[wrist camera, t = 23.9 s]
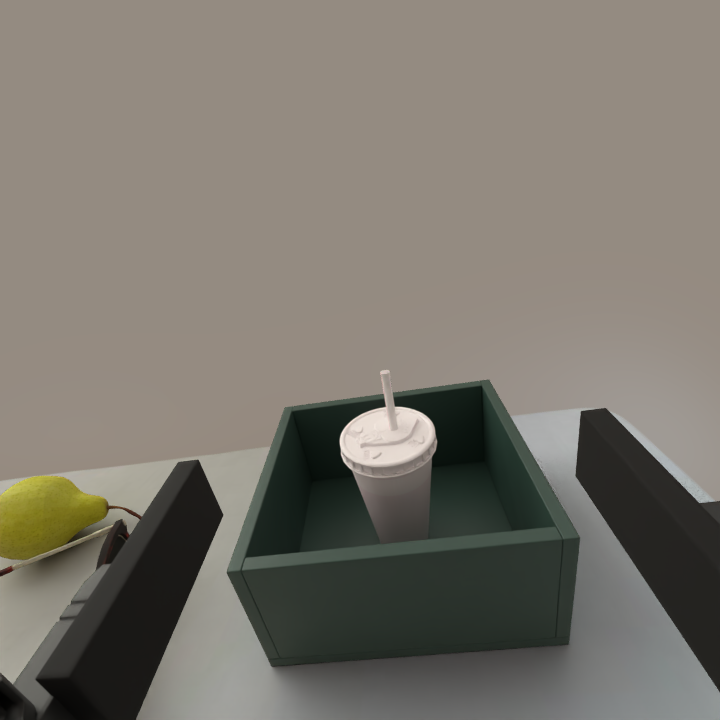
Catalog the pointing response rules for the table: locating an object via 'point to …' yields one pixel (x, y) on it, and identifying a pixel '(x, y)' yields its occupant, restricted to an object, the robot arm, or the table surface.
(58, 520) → the fruit
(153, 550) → the robot arm
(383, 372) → the smoothie
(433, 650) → the bin
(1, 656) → the table surface
